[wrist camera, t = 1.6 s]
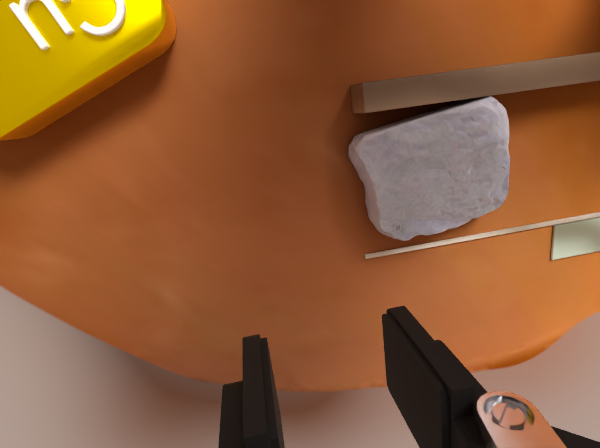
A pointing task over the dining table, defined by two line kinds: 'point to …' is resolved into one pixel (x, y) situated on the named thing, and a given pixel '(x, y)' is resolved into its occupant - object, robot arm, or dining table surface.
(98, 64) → the element tile
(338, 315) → the dining table surface
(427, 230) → the stone block
